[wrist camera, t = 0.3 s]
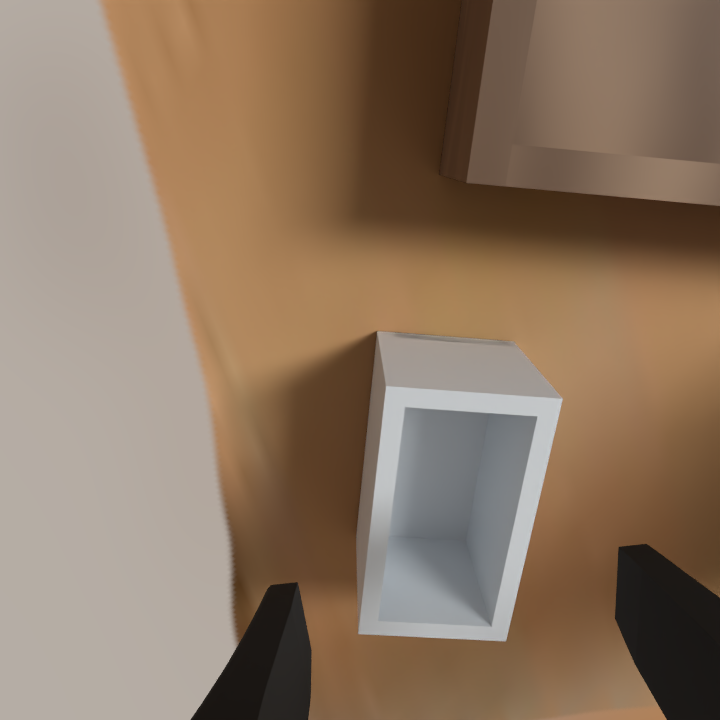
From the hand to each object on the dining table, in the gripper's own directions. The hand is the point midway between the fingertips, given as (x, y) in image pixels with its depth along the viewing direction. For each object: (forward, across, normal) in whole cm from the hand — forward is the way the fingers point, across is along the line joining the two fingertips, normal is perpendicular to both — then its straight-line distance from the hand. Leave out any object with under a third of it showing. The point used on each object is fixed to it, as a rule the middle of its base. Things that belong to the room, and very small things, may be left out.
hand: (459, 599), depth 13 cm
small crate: (+10, 0, +2) cm, 10 cm away
